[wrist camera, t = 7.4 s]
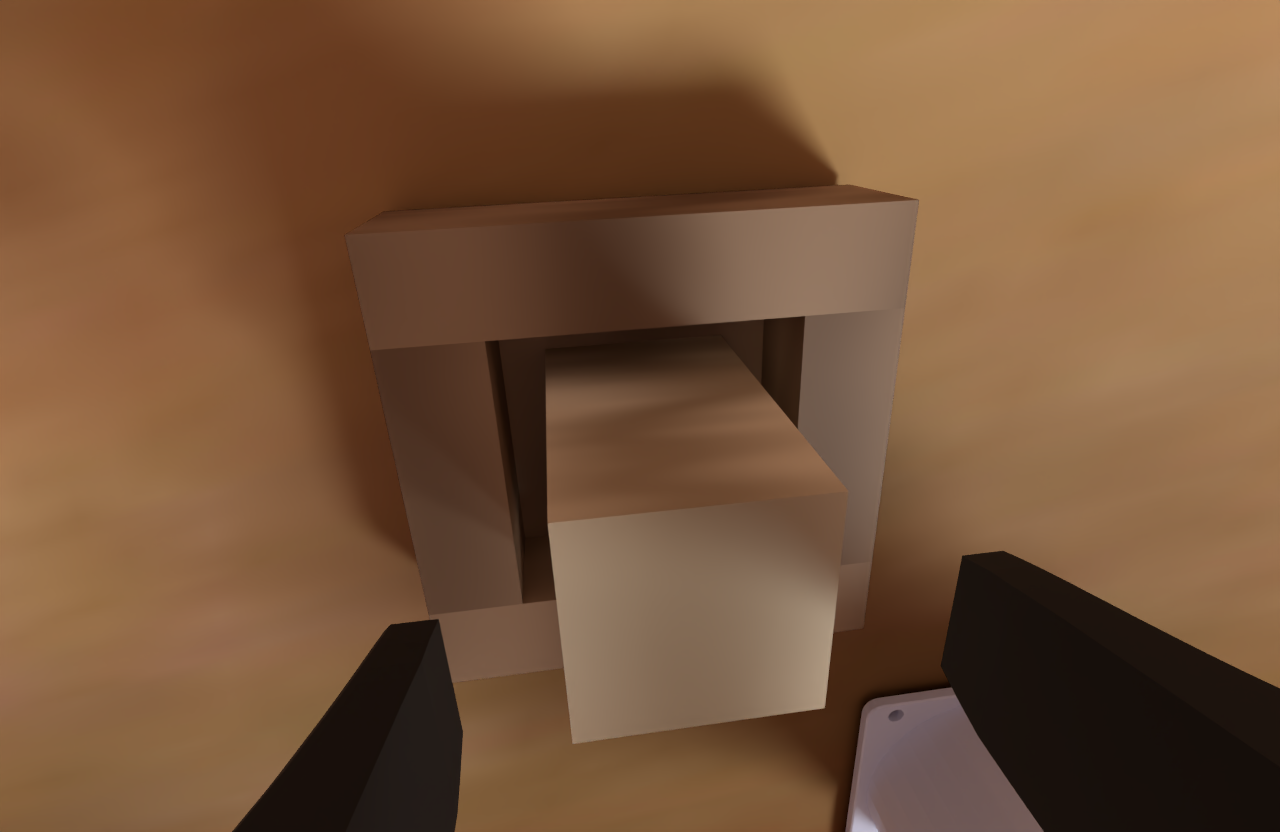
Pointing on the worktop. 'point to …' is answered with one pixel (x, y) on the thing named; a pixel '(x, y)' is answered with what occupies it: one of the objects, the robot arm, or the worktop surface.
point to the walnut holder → (606, 314)
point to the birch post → (685, 540)
